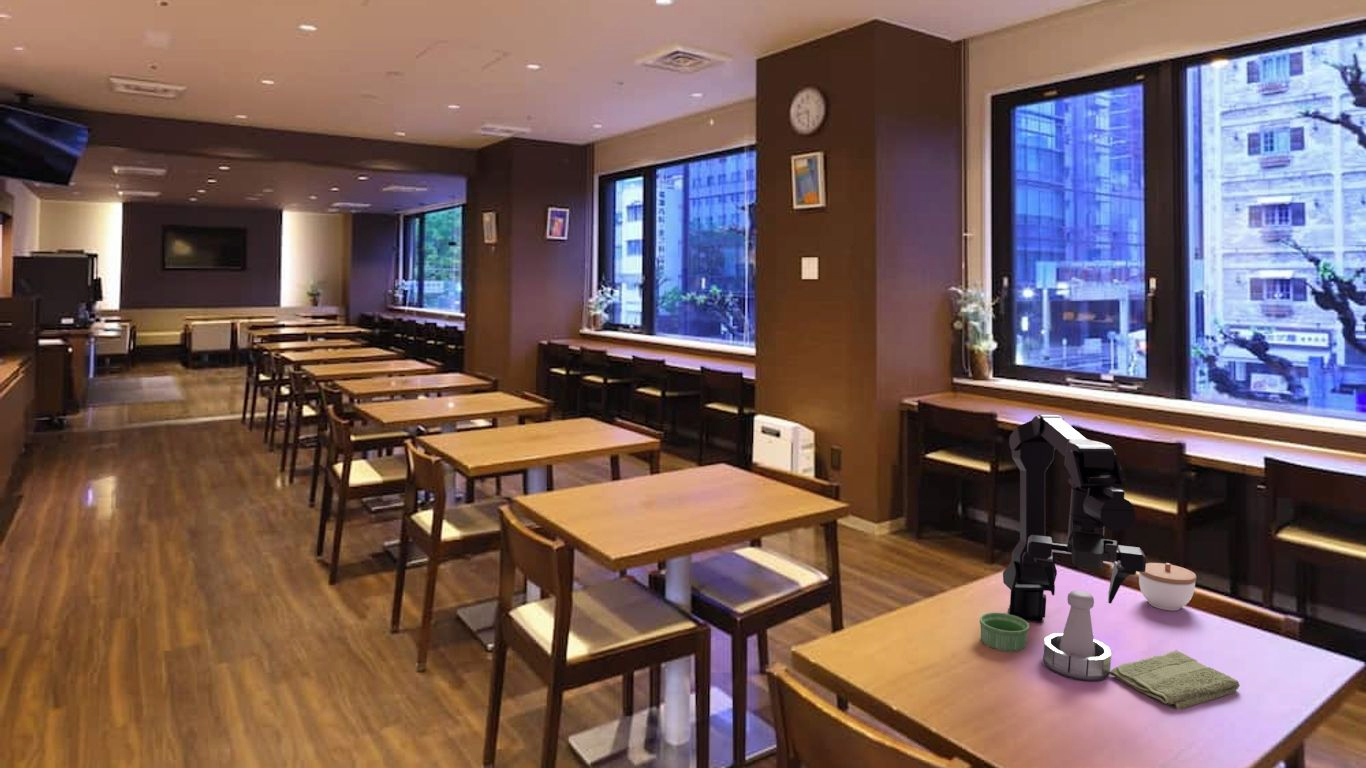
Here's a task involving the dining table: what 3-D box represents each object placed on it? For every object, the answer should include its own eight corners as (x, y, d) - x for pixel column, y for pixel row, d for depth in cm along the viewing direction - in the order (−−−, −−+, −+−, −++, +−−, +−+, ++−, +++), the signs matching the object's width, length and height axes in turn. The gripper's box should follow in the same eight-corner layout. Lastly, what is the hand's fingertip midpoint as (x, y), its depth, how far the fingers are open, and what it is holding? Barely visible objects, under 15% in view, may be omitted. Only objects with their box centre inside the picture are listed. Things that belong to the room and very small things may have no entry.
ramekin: (977, 648, 155) (978, 626, 155) (979, 630, 164) (980, 609, 163) (1028, 657, 152) (1029, 634, 151) (1027, 638, 160) (1029, 616, 160)
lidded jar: (1129, 604, 178) (1132, 562, 177) (1146, 592, 185) (1149, 552, 184) (1184, 619, 170) (1188, 576, 169) (1199, 606, 177) (1203, 564, 176)
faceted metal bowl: (1043, 674, 145) (1044, 652, 145) (1042, 649, 155) (1043, 629, 155) (1112, 686, 141) (1114, 664, 140) (1106, 660, 151) (1108, 639, 150)
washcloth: (1104, 678, 145) (1106, 661, 144) (1175, 662, 151) (1177, 646, 151) (1171, 715, 133) (1173, 696, 132) (1246, 696, 139) (1248, 678, 139)
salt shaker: (1087, 655, 150) (1093, 588, 149) (1098, 670, 145) (1104, 600, 143) (1054, 653, 151) (1059, 586, 149) (1064, 667, 145) (1069, 598, 144)
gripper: (1030, 519, 141) (1024, 606, 143) (1153, 533, 134) (1146, 624, 135) (1030, 504, 151) (1024, 584, 153) (1144, 516, 144) (1137, 601, 146)
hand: (1081, 598), depth 146 cm, fingers open, 9 cm apart
